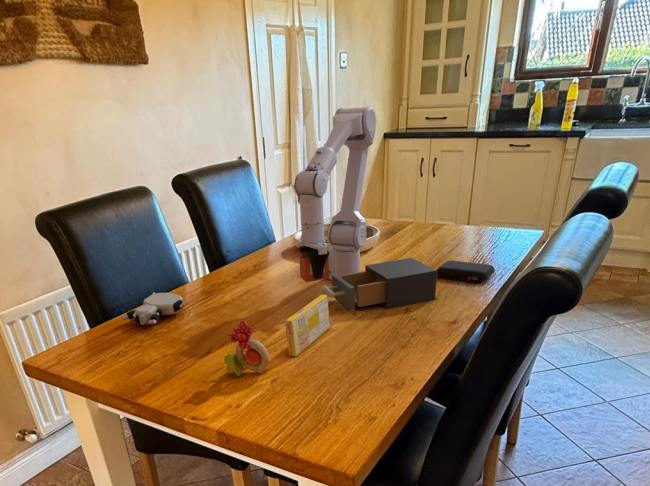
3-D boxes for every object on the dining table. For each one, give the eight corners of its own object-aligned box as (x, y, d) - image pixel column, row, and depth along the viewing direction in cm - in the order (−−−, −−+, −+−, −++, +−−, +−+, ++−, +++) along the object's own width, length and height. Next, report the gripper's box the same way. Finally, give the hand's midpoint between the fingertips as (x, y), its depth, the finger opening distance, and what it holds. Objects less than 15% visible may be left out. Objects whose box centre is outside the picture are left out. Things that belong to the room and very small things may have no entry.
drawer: (334, 313, 126) (334, 291, 123) (318, 298, 136) (317, 277, 133) (396, 302, 130) (396, 280, 127) (375, 288, 139) (375, 267, 136)
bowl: (277, 253, 180) (275, 230, 176) (322, 233, 200) (321, 212, 196) (353, 262, 164) (353, 237, 160) (393, 240, 185) (394, 217, 181)
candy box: (322, 327, 122) (320, 293, 117) (330, 328, 121) (329, 294, 116) (287, 355, 110) (284, 319, 106) (295, 357, 109) (293, 320, 105)
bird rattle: (267, 374, 108) (229, 355, 108) (283, 331, 101) (242, 311, 102) (255, 389, 103) (216, 369, 104) (271, 345, 96) (229, 324, 97)
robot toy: (157, 334, 127) (193, 309, 138) (152, 318, 125) (190, 293, 135) (121, 328, 133) (158, 304, 143) (115, 312, 130) (154, 289, 140)
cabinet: (386, 308, 129) (387, 279, 125) (365, 292, 140) (365, 265, 136) (435, 299, 132) (437, 270, 128) (409, 284, 143) (411, 257, 139)
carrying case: (431, 279, 145) (484, 286, 138) (432, 268, 144) (485, 274, 136) (445, 268, 153) (496, 274, 145) (446, 258, 151) (497, 263, 143)
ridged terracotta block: (305, 282, 134) (304, 255, 130) (299, 277, 138) (298, 251, 134) (329, 278, 135) (329, 251, 132) (323, 273, 139) (322, 247, 136)
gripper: (288, 219, 134) (292, 270, 141) (306, 230, 122) (309, 285, 129) (314, 215, 136) (316, 266, 143) (334, 226, 124) (335, 281, 131)
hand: (314, 275), depth 136 cm, fingers closed on ridged terracotta block, 4 cm apart
